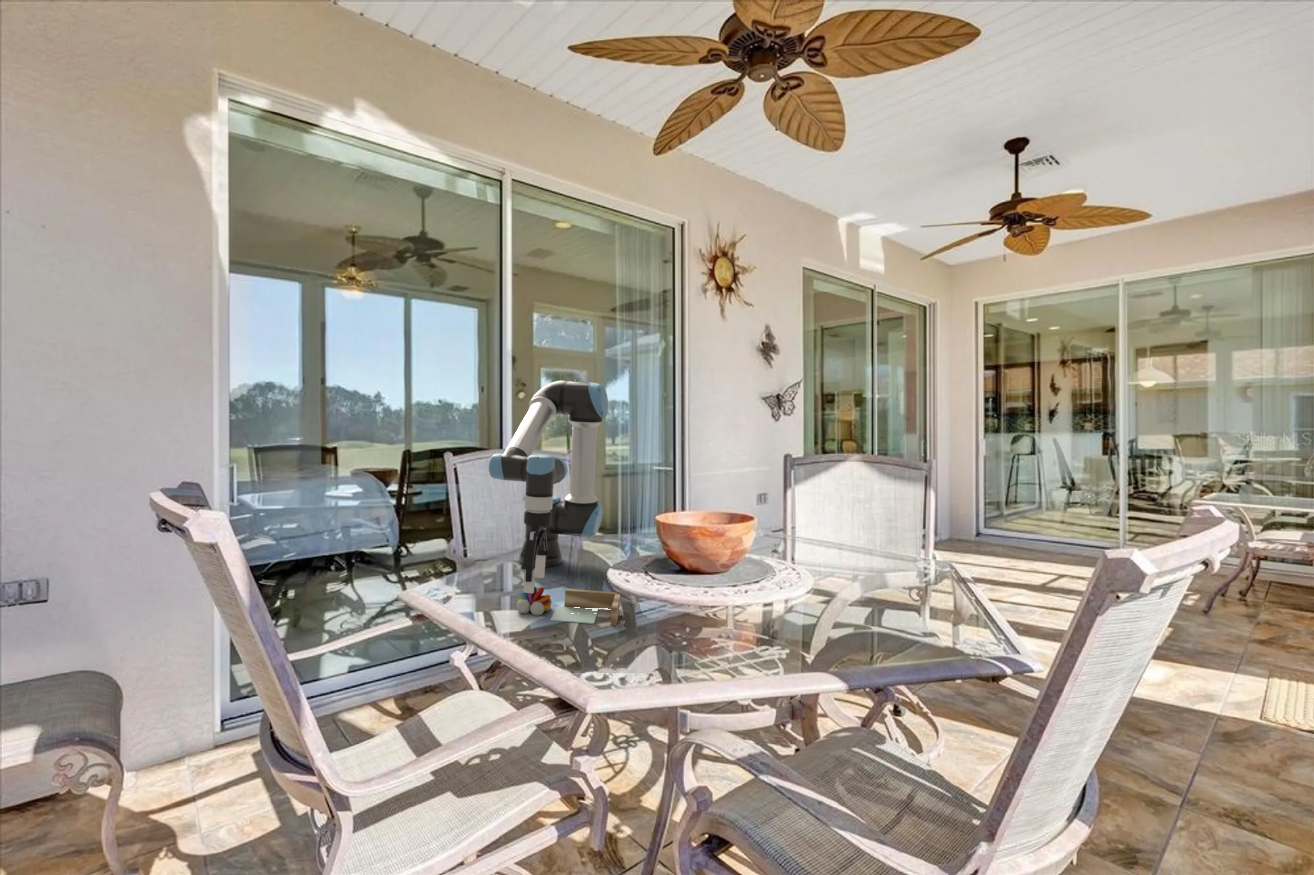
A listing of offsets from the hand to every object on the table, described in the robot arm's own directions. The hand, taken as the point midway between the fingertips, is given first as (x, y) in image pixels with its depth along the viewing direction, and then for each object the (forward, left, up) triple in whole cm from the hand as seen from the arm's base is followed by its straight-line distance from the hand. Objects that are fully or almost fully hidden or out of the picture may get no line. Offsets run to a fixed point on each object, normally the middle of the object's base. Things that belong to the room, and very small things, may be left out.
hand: (534, 584), depth 174 cm
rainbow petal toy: (-1, 0, -8) cm, 8 cm away
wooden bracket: (0, +16, -8) cm, 18 cm away
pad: (+1, +12, -8) cm, 14 cm away
